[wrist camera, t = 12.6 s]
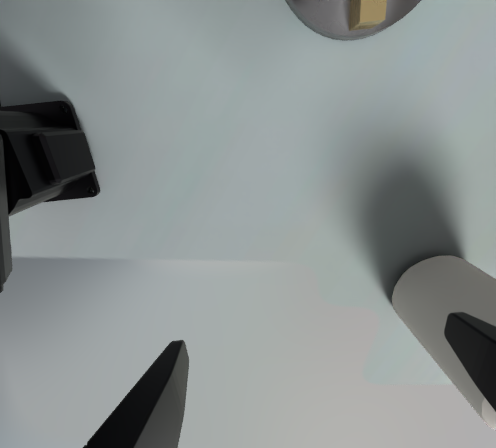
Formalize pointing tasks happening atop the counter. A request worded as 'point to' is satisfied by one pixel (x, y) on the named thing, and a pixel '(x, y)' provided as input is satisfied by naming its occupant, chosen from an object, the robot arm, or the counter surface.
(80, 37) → the counter surface
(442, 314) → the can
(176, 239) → the counter surface
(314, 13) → the metal flange
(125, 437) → the robot arm
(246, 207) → the counter surface
